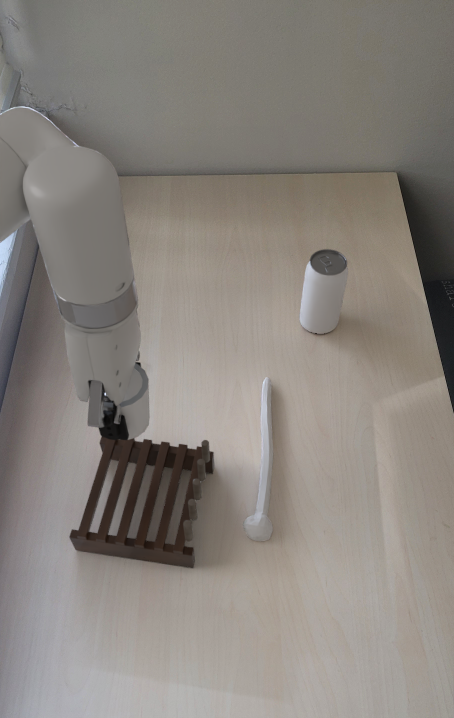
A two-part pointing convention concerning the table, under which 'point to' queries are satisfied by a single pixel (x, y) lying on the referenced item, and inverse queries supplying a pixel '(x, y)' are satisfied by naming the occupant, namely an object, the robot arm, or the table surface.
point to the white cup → (135, 403)
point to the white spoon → (263, 473)
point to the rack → (140, 548)
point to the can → (323, 291)
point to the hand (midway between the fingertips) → (123, 409)
